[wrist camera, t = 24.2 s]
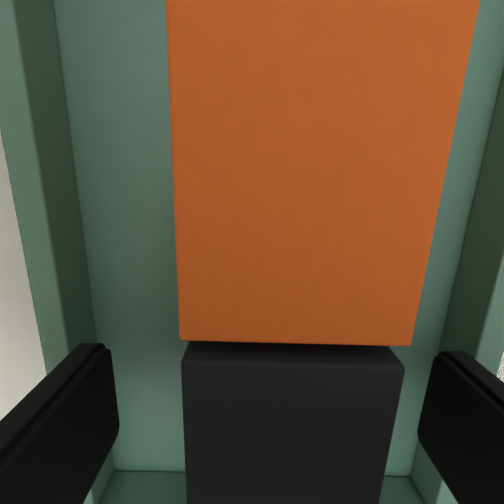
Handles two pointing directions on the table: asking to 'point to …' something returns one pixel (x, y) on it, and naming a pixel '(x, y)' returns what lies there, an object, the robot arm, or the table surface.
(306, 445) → the black block
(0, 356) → the table surface
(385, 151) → the orange block
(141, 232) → the backing tray
